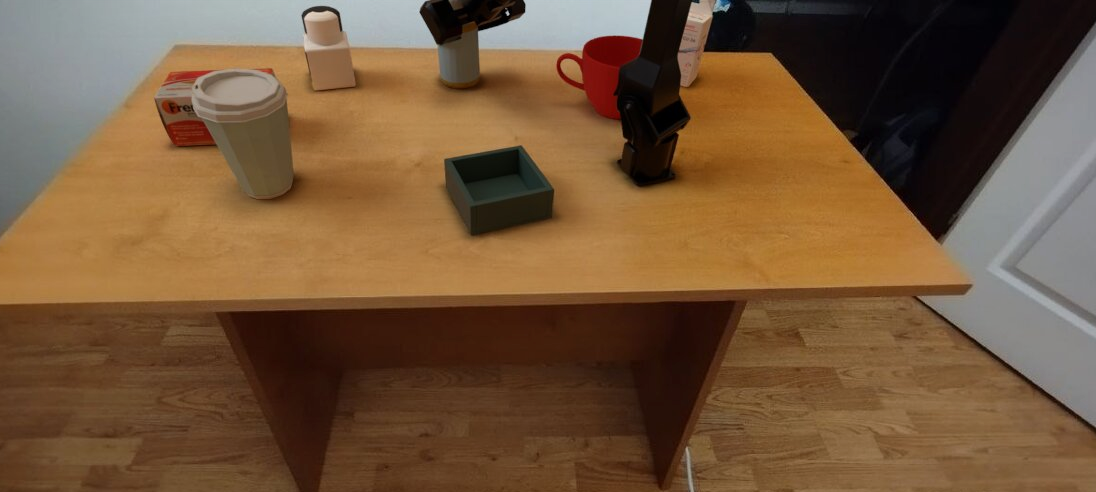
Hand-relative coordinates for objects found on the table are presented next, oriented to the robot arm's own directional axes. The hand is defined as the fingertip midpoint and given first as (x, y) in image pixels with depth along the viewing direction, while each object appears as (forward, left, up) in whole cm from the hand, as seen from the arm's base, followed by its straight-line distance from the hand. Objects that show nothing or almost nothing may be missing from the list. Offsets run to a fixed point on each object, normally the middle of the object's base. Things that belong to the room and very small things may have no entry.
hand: (452, 36), depth 99 cm
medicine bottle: (+20, -6, -8) cm, 23 cm away
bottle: (-1, +1, -8) cm, 8 cm away
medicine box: (+37, +7, -8) cm, 39 cm away
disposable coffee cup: (+33, +24, -8) cm, 42 cm away
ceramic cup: (-21, +18, -8) cm, 29 cm away
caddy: (+5, +37, -8) cm, 38 cm away
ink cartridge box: (-39, +11, -8) cm, 41 cm away
